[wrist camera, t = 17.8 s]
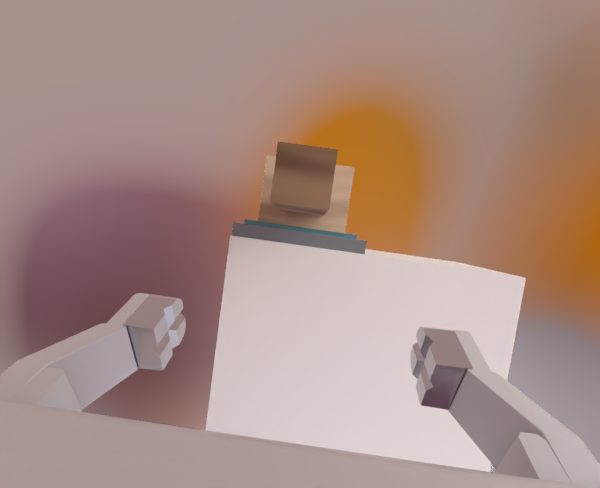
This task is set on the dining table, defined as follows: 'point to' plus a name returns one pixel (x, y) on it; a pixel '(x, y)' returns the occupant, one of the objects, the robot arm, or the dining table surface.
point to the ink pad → (299, 236)
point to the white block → (349, 347)
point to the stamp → (306, 188)
